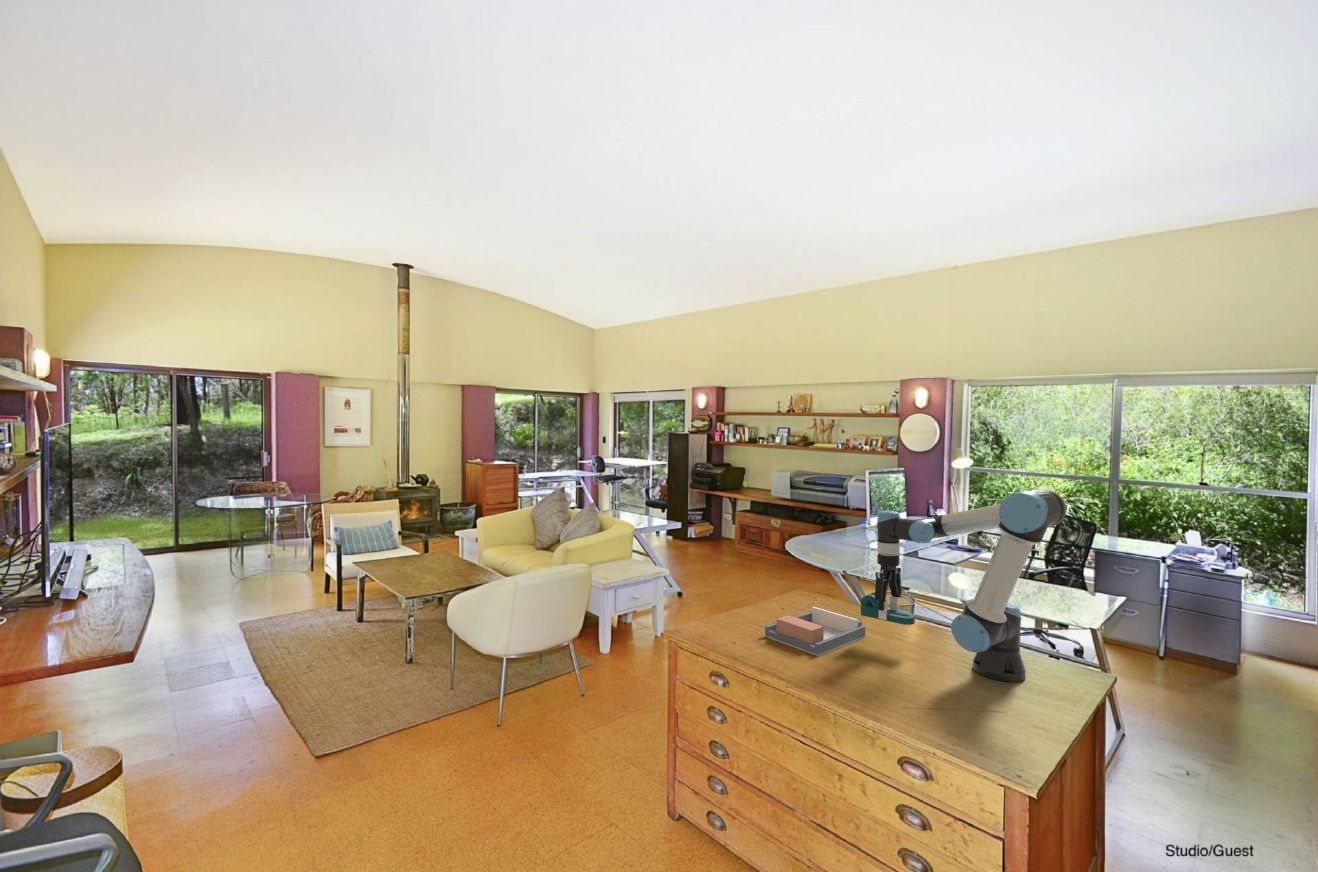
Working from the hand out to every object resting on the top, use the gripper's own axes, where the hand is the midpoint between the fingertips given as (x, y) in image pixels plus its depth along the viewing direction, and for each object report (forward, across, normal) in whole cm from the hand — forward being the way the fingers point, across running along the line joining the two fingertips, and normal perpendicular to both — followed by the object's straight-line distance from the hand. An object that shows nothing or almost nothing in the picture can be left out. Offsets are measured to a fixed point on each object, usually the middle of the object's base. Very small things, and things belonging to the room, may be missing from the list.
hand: (888, 616), depth 214 cm
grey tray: (+11, +11, -24) cm, 28 cm away
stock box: (+11, +21, -24) cm, 33 cm away
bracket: (+1, 0, 0) cm, 1 cm away
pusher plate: (+10, -1, -24) cm, 26 cm away
